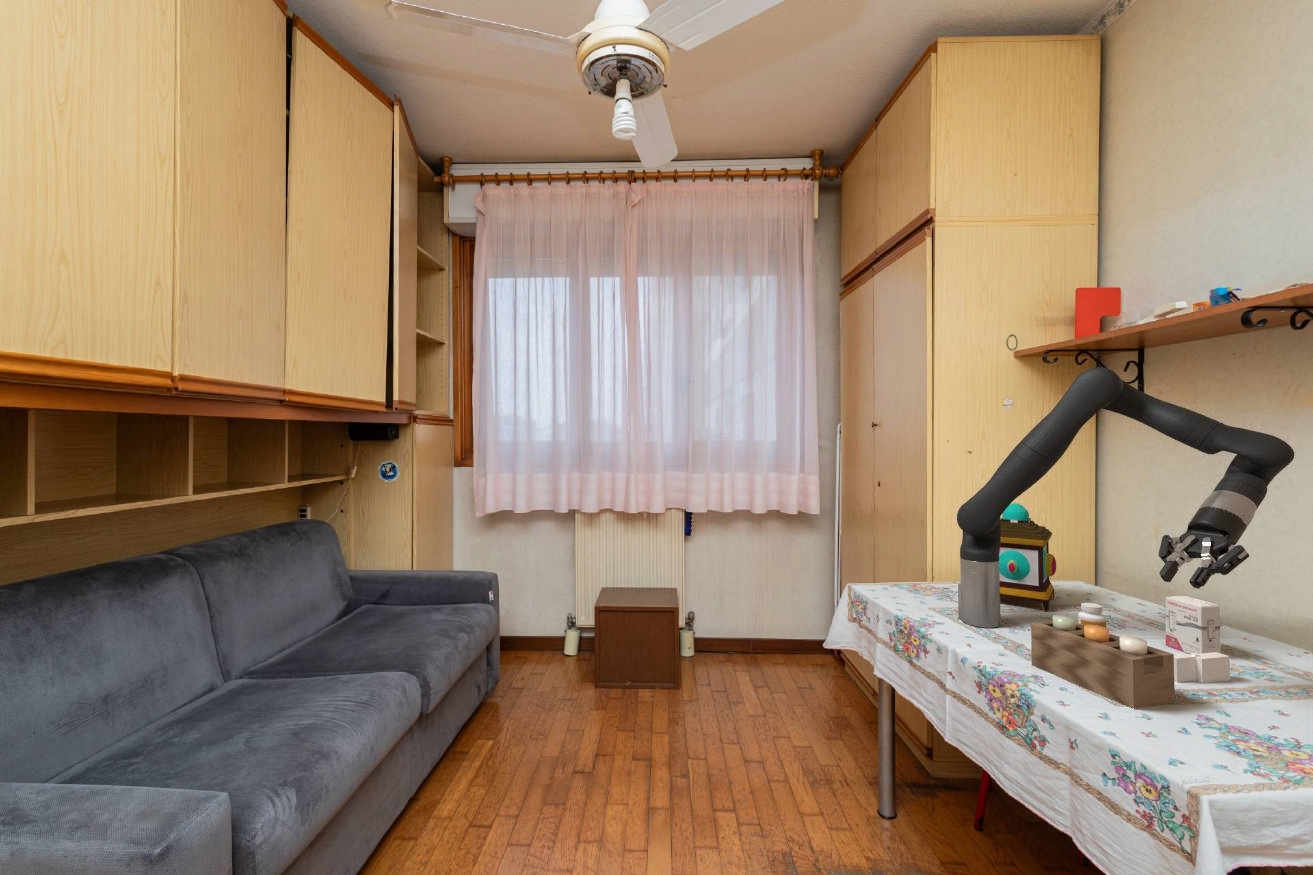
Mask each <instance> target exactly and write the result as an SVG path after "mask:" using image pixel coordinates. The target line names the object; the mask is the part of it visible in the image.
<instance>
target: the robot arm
mask: <svg viewBox="0 0 1313 875" xmlns="http://www.w3.org/2000/svg"><path fill="white" fill-rule="evenodd" d="M1101 410H1106V411H1109V412H1111V413H1115V414H1119V415H1121V416H1125V417H1127V418H1129V419H1133V421H1137V422H1139V423H1140V424H1144V425H1146V426H1147V427H1149V428H1151V429H1153V430H1155V431H1157V432H1159V433H1161V434H1163V435H1165V436H1166V437H1168V438H1171V439H1172V440H1175V441H1176V442H1179V443H1181V444H1183V445H1186V446H1188V447H1189V448H1192V449H1193V450H1194V449H1195V450H1196V451H1198V452H1202V453H1204V454H1207V455H1216V454H1219V453H1221V452H1227V453H1231V454H1236V455H1235V456H1234V457H1233V459H1232V460H1231V462H1230V463H1229V465H1228V467H1227V468H1226V470H1225V472H1224V475H1223V476H1222V478H1221V479H1220V481H1219V482H1218V483H1217V484H1216V486H1215V487H1214V489H1213V491H1212V492H1211V493H1210V494H1209V495H1208V497H1206V498H1205V500H1203V502H1202V504H1201V505H1200V506H1199V508H1198V509H1197V511H1196V512H1195V514H1194V516H1192V518H1191V520H1190V521H1189V522H1188V524H1187V529H1186V531H1185V532H1184V533H1183V534H1180V535H1179V537H1178V536H1175V537H1171V536H1170V535H1169V534H1164V535H1163V536H1162V538H1161V542H1160V546H1159V550H1158V558H1160V559H1161V561H1162V562H1163V563H1164V565H1163V567H1162V568H1161V569H1160V571H1159V576H1160V578H1161V579H1162V580H1163V581H1164V582H1165V583H1171V582H1172V580H1173V579H1174V577H1175V575H1176V574H1178V572H1179V568H1181V567H1182V566H1183V565H1185V564H1186V563H1187V564H1188V563H1191V562H1192V561H1193V560H1194V559H1201V563H1200V566H1201V567H1200V566H1198V567H1197V568H1196V570H1195V571H1194V573H1193V574H1192V576H1191V577H1190V578H1189V584H1190V585H1191V586H1192V587H1193V589H1199V590H1200V589H1201V587H1204V586H1206V584H1207V583H1208V581H1209V579H1210V578H1211V576H1215V575H1216V574H1220V575H1222V576H1226V575H1228V574H1229V573H1232V572H1233V571H1234V570H1235V569H1236V568H1237V567H1238V566H1240V565H1241V564H1242V563H1243V562H1245V560H1247V559H1248V558H1249V557H1250V554H1249V552H1248V551H1247V550H1246V548H1244V546H1243V545H1242V544H1237V543H1238V542H1239V540H1240V538H1241V537H1242V536H1243V535H1244V532H1245V531H1246V530H1247V528H1248V527H1249V525H1250V524H1251V522H1252V520H1253V519H1254V517H1255V513H1256V512H1257V510H1258V508H1259V507H1260V505H1261V504H1262V502H1263V501H1264V500H1265V497H1266V496H1267V493H1268V487H1269V485H1270V483H1271V482H1272V481H1273V480H1274V479H1275V477H1277V475H1279V473H1281V472H1282V471H1283V470H1284V469H1285V468H1286V467H1287V466H1289V465H1290V464H1291V463H1293V460H1294V458H1295V450H1294V449H1293V447H1292V446H1291V445H1290V444H1289V443H1287V442H1286V441H1285V440H1283V439H1281V438H1280V437H1277V436H1275V435H1272V434H1269V433H1266V432H1265V433H1264V432H1260V431H1256V430H1251V429H1248V428H1242V427H1238V426H1232V425H1227V424H1226V423H1224V422H1220V421H1218V420H1216V419H1214V418H1211V417H1209V416H1206V415H1204V414H1202V413H1199V412H1197V411H1194V410H1191V409H1189V408H1186V407H1183V406H1180V405H1176V404H1173V403H1170V402H1168V401H1165V400H1162V399H1160V398H1156V397H1155V396H1153V395H1149V394H1148V393H1145V392H1144V391H1142V390H1140V389H1137V388H1136V387H1134V386H1132V385H1131V384H1130V383H1127V382H1126V381H1125V380H1123V379H1122V378H1121V377H1120V376H1119V374H1118V373H1116V372H1115V371H1114V370H1112V369H1110V368H1107V367H1101V366H1100V367H1099V366H1098V367H1092V368H1088V369H1086V370H1084V371H1083V372H1081V373H1080V374H1078V375H1077V376H1076V377H1075V379H1074V380H1073V382H1072V383H1071V385H1069V387H1068V389H1067V390H1066V391H1065V393H1064V394H1063V396H1062V397H1061V398H1060V399H1059V401H1058V402H1057V404H1056V405H1055V406H1054V407H1053V409H1051V411H1050V412H1048V414H1047V415H1046V416H1045V417H1043V418H1042V419H1041V420H1040V421H1039V422H1038V423H1037V424H1036V425H1035V426H1034V427H1032V429H1030V431H1029V432H1028V433H1027V434H1026V435H1025V436H1024V437H1022V439H1021V441H1020V442H1019V443H1018V444H1017V445H1016V446H1014V447H1013V449H1012V450H1011V452H1010V453H1009V454H1008V455H1007V456H1006V457H1005V459H1004V460H1003V461H1002V462H1001V463H1000V465H999V466H998V468H997V469H996V471H994V473H993V475H991V478H990V479H989V480H988V481H987V482H986V484H985V485H984V486H982V487H981V488H980V489H979V490H978V491H977V492H976V493H975V494H973V496H971V498H969V499H968V500H967V501H965V502H964V503H963V504H962V505H960V507H959V509H958V511H957V513H956V523H957V525H958V527H959V528H960V529H961V531H962V537H961V538H962V539H961V545H960V548H959V559H960V563H959V564H960V567H959V568H960V583H958V584H957V603H958V605H957V608H958V609H957V610H958V612H957V613H958V616H957V617H958V619H960V620H961V622H963V623H964V624H966V625H970V626H973V627H977V628H978V627H980V628H987V629H988V628H991V629H992V628H998V627H1000V626H1001V596H1000V572H999V553H1000V547H1001V518H1002V514H1003V512H1004V511H1005V510H1006V508H1007V507H1008V506H1009V505H1010V504H1012V503H1014V501H1015V500H1016V499H1017V498H1019V496H1021V495H1022V494H1024V493H1025V492H1027V490H1029V489H1030V488H1032V487H1033V486H1034V485H1035V484H1037V483H1038V481H1039V480H1041V479H1042V478H1043V477H1045V475H1046V474H1047V473H1048V472H1049V471H1050V470H1052V468H1053V467H1054V466H1055V465H1056V463H1058V462H1059V460H1060V459H1061V458H1062V457H1063V455H1064V454H1065V453H1066V451H1067V450H1068V448H1069V447H1070V446H1071V444H1072V442H1073V440H1074V439H1075V438H1076V436H1077V434H1078V433H1079V432H1080V430H1081V429H1082V428H1083V426H1084V425H1085V424H1086V423H1088V422H1089V421H1090V420H1091V419H1092V418H1093V417H1094V416H1095V415H1096V414H1097V413H1098V412H1100V411H1101ZM1236 544H1237V545H1236Z"/></svg>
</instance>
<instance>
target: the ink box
mask: <svg viewBox="0 0 1313 875" xmlns="http://www.w3.org/2000/svg"><path fill="white" fill-rule="evenodd" d="M1220 609H1221V608H1220V605H1219V604H1217V603H1212V602H1210V601H1207V600H1202V599H1198V598H1194V597H1191V596H1189V595H1188V596H1187V595H1175V596H1173V595H1172V596H1165V645H1166V646H1167V647H1170V648H1172V649H1175V650H1178V651H1181V652H1182V653H1186V654H1189V655H1191V653H1197V654H1202V653H1212V652H1217V653H1221V651H1222V648H1221V614H1220V613H1221V612H1220V611H1221V610H1220ZM1221 654H1222V653H1221Z"/></svg>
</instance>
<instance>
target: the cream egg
mask: <svg viewBox="0 0 1313 875" xmlns="http://www.w3.org/2000/svg"><path fill="white" fill-rule="evenodd" d="M1119 637H1120V650H1121V651H1124V652H1127V653H1130V654H1132V655H1135V656H1142V655H1147V646H1148V641H1147V640H1145V639H1143V638H1139V637H1136V636H1129V635H1123V636H1122V635H1121V636H1119Z"/></svg>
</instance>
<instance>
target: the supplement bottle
mask: <svg viewBox="0 0 1313 875" xmlns="http://www.w3.org/2000/svg"><path fill="white" fill-rule="evenodd" d="M1080 605H1081V606H1080V608H1081V610H1082V611H1080V612H1078V614H1077V623H1078V624H1081V625H1084V626H1085V625H1097V626H1102V627H1105V628H1107V618H1106V616H1105V615H1104V614H1102V613H1103V606H1102V605H1101V604H1098V603H1094V602H1082V603H1081V604H1080Z"/></svg>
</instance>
